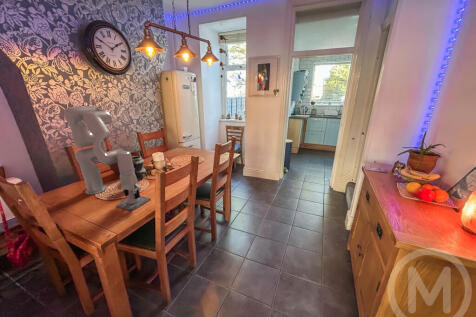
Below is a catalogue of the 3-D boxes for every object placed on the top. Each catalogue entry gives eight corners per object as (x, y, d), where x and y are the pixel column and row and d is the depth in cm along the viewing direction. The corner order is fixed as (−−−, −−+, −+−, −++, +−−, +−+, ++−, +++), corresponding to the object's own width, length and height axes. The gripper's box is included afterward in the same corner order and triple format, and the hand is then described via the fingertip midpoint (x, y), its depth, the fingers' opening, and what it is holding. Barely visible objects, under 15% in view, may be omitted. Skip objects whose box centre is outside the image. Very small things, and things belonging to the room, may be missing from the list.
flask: (130, 198, 119) (127, 185, 116) (141, 198, 119) (139, 184, 116) (124, 205, 112) (121, 190, 109) (136, 204, 113) (133, 190, 109)
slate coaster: (116, 206, 112) (115, 205, 112) (135, 195, 125) (135, 194, 124) (132, 211, 107) (132, 210, 107) (150, 199, 120) (150, 198, 119)
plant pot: (108, 175, 157) (103, 156, 152) (128, 167, 174) (125, 151, 168) (123, 178, 150) (119, 159, 145) (142, 170, 167) (139, 153, 161)
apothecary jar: (145, 179, 149) (141, 159, 143) (128, 181, 146) (124, 160, 140) (148, 173, 160) (144, 154, 154) (133, 175, 157) (129, 155, 151)
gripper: (111, 171, 109) (117, 197, 114) (132, 176, 103) (137, 202, 108) (122, 167, 115) (128, 191, 121) (143, 171, 109) (147, 196, 115)
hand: (132, 196), depth 115 cm, fingers open, 8 cm apart
